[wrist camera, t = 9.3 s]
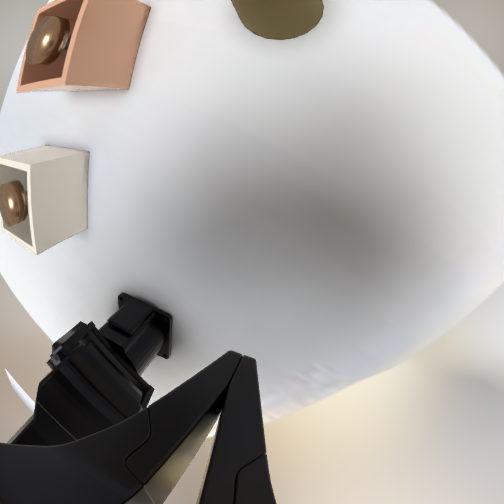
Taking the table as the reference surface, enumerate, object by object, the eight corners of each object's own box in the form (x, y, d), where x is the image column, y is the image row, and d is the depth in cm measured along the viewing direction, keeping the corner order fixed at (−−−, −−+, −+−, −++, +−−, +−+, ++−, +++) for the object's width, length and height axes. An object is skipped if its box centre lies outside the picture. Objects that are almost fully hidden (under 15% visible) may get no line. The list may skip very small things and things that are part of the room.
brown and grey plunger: (115, 76, 17) (49, 70, 11) (74, 79, 18) (15, 79, 12) (131, 16, 15) (71, -4, 9) (88, 26, 16) (32, 15, 9)
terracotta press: (128, 89, 18) (64, 85, 12) (72, 91, 20) (16, 93, 13) (150, 7, 15) (95, -18, 9) (90, 20, 16) (37, 9, 10)
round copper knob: (75, 218, 24) (22, 244, 18) (45, 206, 25) (-2, 227, 19) (75, 162, 22) (16, 179, 15) (45, 156, 22) (-7, 170, 16)
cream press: (87, 228, 25) (36, 255, 19) (46, 211, 26) (1, 231, 20) (89, 151, 22) (30, 164, 15) (46, 145, 23) (-4, 156, 17)
